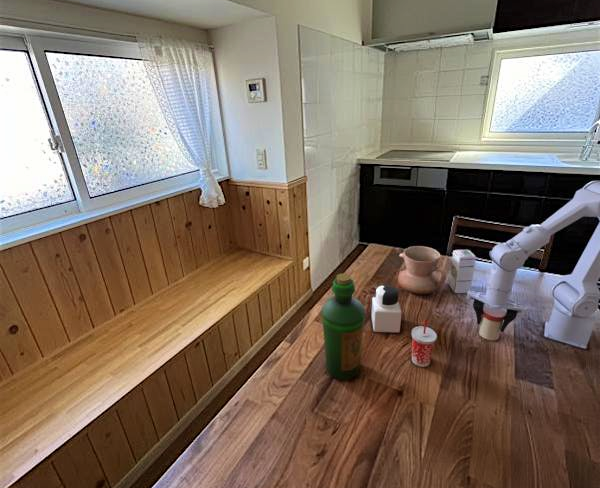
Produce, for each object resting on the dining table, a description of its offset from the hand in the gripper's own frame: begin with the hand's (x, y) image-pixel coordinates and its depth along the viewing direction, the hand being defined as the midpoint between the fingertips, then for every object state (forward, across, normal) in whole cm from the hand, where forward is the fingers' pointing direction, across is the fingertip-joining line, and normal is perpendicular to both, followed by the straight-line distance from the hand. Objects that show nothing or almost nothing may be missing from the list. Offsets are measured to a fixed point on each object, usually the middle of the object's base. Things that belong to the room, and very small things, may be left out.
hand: (490, 326), depth 97 cm
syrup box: (+3, -13, +21) cm, 25 cm away
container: (+3, -27, -12) cm, 30 cm away
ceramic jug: (+3, -25, +14) cm, 29 cm away
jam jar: (+3, 0, 0) cm, 3 cm away
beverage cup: (+3, -13, -21) cm, 25 cm away
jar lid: (-5, 0, 0) cm, 5 cm away
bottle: (+3, -29, -35) cm, 45 cm away
